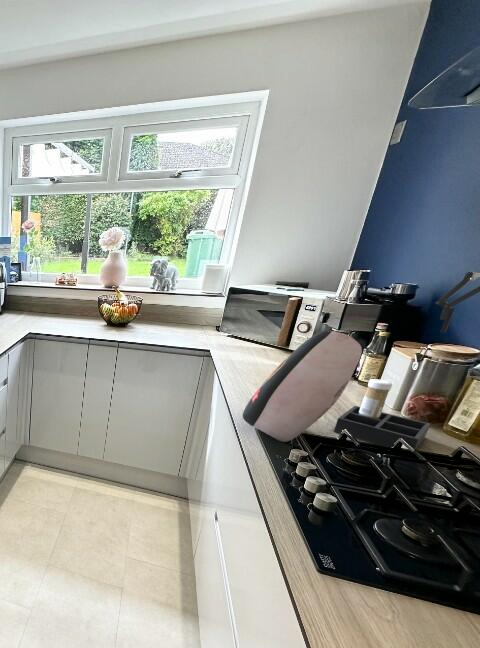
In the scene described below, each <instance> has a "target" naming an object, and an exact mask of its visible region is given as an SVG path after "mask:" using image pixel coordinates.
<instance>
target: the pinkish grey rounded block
mask: <svg viewBox="0 0 480 648" xmlns="http://www.w3.org/2000/svg"><path fill="white" fill-rule="evenodd" d="M362 353H363V348H362V345H361V344H360V343H359V342H358V341H357V340H356V339H354V337H352V336H350V335H349V334H346V333H342V332H339V331H335V330H320V331H318V332H316V333H315V334H313V335H312V336H311V337H309V338H308V339H307V340H305V341H303V343H301V344H300V345H299V346H298V347H297V348H296V349H295V350H294V351H293V352H292V353H290V354H289V355H288V356H287V357H286V358H285V359H284V360H283V361H282V362H281V363H280V364H279V365H278V366H277V367H276V368H275V369H274V371H272V373H271V374H269V376H268V377H266V380H264V382H263V383H262V384H261V385H260V387H259V388H258V389H257V390H256V392H255V393H254V394H253V396H252V397H251V398H250V399H249V401H248V403H247V404H246V406H245V408H244V409H243V411H242V420H243V421H244V422H245V423H246V424H248V425H249V426H251V427H252V428H255V429H257V430H259V431H261V432H263V433H265V434H266V435H268V436H269V437H272V438H274V439H275V440H277V441H279V442H281V443H288V442H291V441H292V440H293V439H295V438H297V437H298V436H299V435H301V434H302V433H304V432H305V431H306V430H308V429H309V428H310V427H311V426H312V425H314V424H315V423H316V422H317V421H318V420H319V419H321V418H322V417H323V416H324V415H325V414H326V413H327V412H328V411H329V410H330V409H331V408H333V406H334V405H335V404H336V402H337V401H338V400H339V399H340V397H341V396H342V394H343V393H344V391H345V390H346V388H347V386H348V385H349V382H350V380H351V379H352V376H353V375H354V372H355V370H356V369H357V366H358V364H359V361H360V359H361V357H362Z"/></svg>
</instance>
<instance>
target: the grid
mask: <svg viewBox="0 0 480 648" xmlns="http://www.w3.org/2000/svg"><path fill="white" fill-rule="evenodd" d="M360 408H361V406H357V405H354V406H352V407H351V408H350V409H348V410H347V411H346V412H344V413H343V414H342V415H340V416H339V417H338V418H337V420H336V423H335V426H334V430H333V433H336V434H340V433H341V432H342V430H344V429H347V430H348V431H349V432H350V433H351V434H352V435H353V437H354V438H353V437H352V438H353V439H357V440H361V441H364V442H366V443H371V444H374V445H377V446H381V447H385V448H388V447H393V446H394V443H395V442H396V441H397V440H398V439H399V438H403V439H404V440H405V441H407V442H408V443H409V444H410V445H411V446H412V447H413V448H414V449H416V450H417V449H418V448H419V447H420V446H421V444H422V442H423V441H424V440H425V438H426V435H427V433H428V431H429V429H430V426H431V423H430V422H425V421H420V420H416V419H412V418H408V417H404V416H399V415H395V414H391V413H387V412H383V411H382V412H381V415H380V417H379V419H375V418H371V417H367V416H363V415H359V411H360ZM340 435H341V434H340Z"/></svg>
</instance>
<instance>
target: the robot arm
mask: <svg viewBox="0 0 480 648" xmlns="http://www.w3.org/2000/svg"><path fill="white" fill-rule="evenodd" d="M479 278H480V272H474V271H467V272H466V273H465V274H464V277H463V278H462V280H461V281H459V282H458V283H457V284H456V285H455V286H453V287H452V288H451V289H450V290H449V291H447V293H445V294H444V295H443V296H441V297H440V298H439V299H437V301H436V302H435V305H436V306H439V307H441V308H442V311H441V314H440V317H439V320H441V321H443V324H442V327H441V328H440V333H443V334H445V333H446V332H447V330H448V327H449V325H450V324H451V320H452V318H453V315H454V313H455V310H456V308H454V306H456V305H458V304H460V303H462V302H464V301H466V300H467V299H470V298H471V297H473V296H475V295H476V294H478V293H480V285H479V286H478V287H475V288H474V289H472V290H470V291H468V292H466V293H465V294H462V295H461V296H459V297H457V298H455V299H453V300H451V301H450V302H447V301H448V300H449V299H451V298H452V297H453V296H454V295H456V293H457V292H459V291H460V290H461V289H462V288H464V287H465V286H466V285H468V283H469V282H472V281H475V280H476V279H479Z"/></svg>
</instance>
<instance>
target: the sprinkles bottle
mask: <svg viewBox="0 0 480 648" xmlns="http://www.w3.org/2000/svg"><path fill="white" fill-rule="evenodd" d="M392 387H393V382H391V381H388V380H384V379H378V378H372V379H370V380H369V381H368V383H367V388H366V392H365V395H364V397H363V399H362V402H361V405H360V407H361V408H360V411H359V415H363V416H367V417H371V418H375V419H379V417H380V415H381V412H383V409H384V407H385V404H386V400H387V397H388V394H389V392H390V390H392Z"/></svg>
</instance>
